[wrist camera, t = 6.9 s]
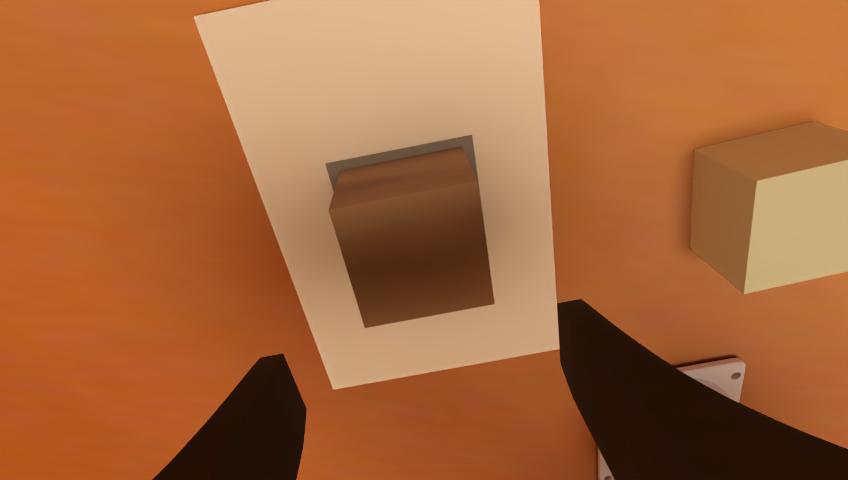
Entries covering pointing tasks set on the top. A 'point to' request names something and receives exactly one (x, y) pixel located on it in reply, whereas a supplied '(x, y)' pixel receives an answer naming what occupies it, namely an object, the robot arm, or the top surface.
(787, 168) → the sage block
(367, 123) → the board
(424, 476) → the top surface
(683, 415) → the robot arm
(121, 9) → the top surface
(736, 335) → the top surface
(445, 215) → the walnut block
